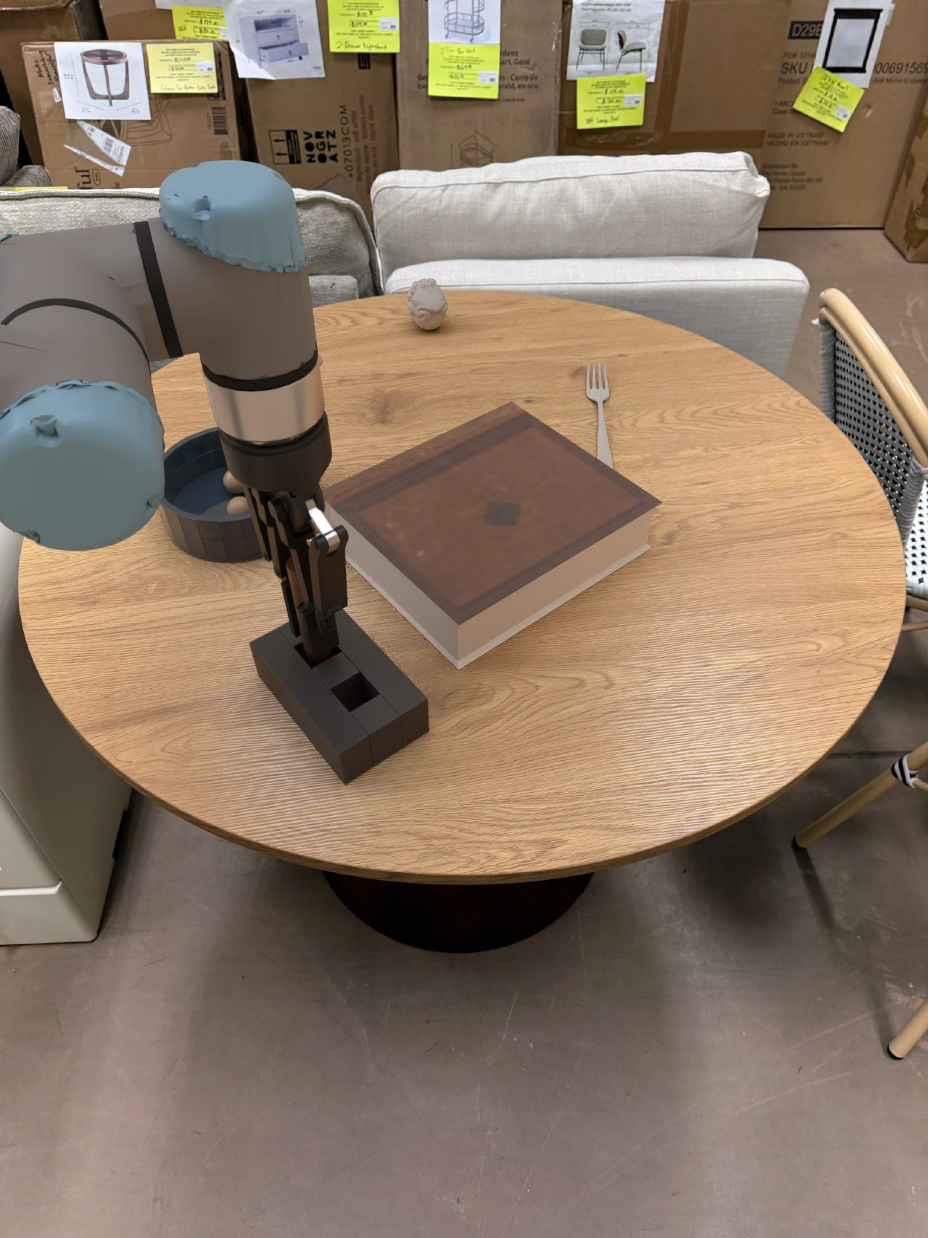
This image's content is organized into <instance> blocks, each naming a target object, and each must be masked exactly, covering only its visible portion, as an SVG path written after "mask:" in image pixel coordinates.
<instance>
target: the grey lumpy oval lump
mask: <svg viewBox="0 0 928 1238" xmlns="http://www.w3.org/2000/svg"><path fill="white" fill-rule="evenodd" d="M406 307H407V310H408V311H409V314H410V315H411V318H412V320H413V321H414V323H415V324H416V325H417V326H418V327H419V328H421V329H422V330H427V331H429V330H430V331H431V330H435V329H437V328H438V327H440V326H441V325H442V323H443V322H444V320H445V317H446V316H447V311H448V309H449V304H448V301H447V299H446V295H445V292H444V291H443V290H442V288H441V287H440V285H439V284H437V280H436V279H435V278H433V277H429V278H420V279H419V280H415V281H413V282H412V285H411V287H410V288H409V290H408V293H407V305H406Z"/></svg>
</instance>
